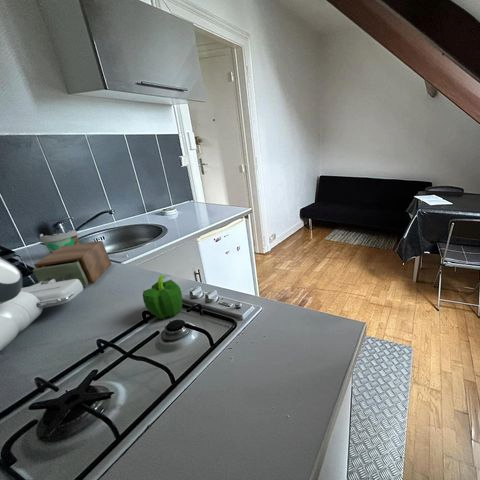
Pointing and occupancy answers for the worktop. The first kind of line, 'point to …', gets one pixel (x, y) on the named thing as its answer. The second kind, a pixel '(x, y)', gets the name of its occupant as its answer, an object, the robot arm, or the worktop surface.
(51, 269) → the drawer
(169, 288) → the bell pepper
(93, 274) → the cabinet
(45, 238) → the food container
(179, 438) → the worktop surface
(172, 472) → the worktop surface
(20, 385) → the worktop surface
